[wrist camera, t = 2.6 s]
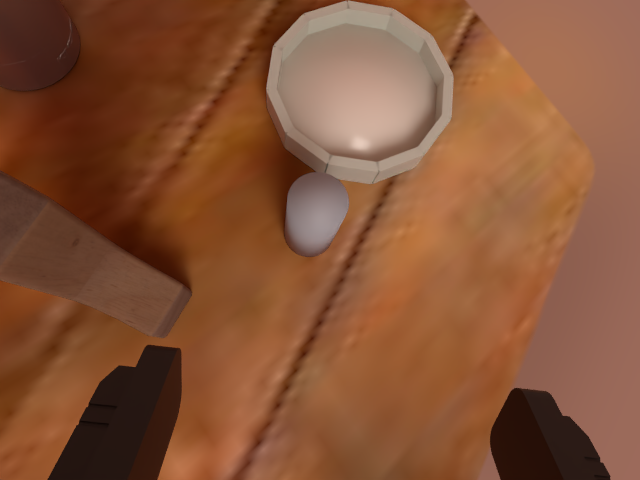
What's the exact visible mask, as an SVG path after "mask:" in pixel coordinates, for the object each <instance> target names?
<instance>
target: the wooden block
mask: <svg viewBox="0 0 640 480" xmlns="http://www.w3.org/2000/svg"><path fill="white" fill-rule="evenodd" d="M0 280H1V281H5V282H8V283H12V284H16V285H19V286H23V287H27V288H30V289H34V290H38V291H41V292H45V293H48V294H52V295H56V296H59V297H63V298H67V299H70V300H74V301H77V302H79V303H82V304H85V305H87V306H90V307H92V308H95V309H97V310H99V311H101V312H103V313H105V314H107V315H110V316H112V317H114V318H116V319H118V320H120V321H122V322H124V323H125V324H127V325H129V326H131V327H133V328H135V329H137V330H138V331H140V332H142V333H144V334H146V335H148V336H153V337H160V338H164V337H166V336H167V335H168V333H169V331H170V330H171V328H172V327H173V325H174V323H175V322H176V320H177V318H178V317H179V315H180V314H181V312H182V310H183V309H184V307H185V305H186V304H187V302H188V301H189V299H190V297H191V295H192V292H191V290H190V289H189V288H187V287H186V286H185V285H184V284H182V283H181V282H179V281H177V280H176V279H174V278H172V277H170V276H168V275H167V274H165V273H163V272H161V271H159V270H158V269H156V268H154V267H152V266H151V265H149V264H147V263H146V262H144V261H142V260H140V259H139V258H137V257H135V256H134V255H132V254H130V253H129V252H127V251H126V250H124V249H122V248H121V247H119V246H118V245H116V244H115V243H113V242H112V241H110V240H109V239H107V238H106V237H105V236H103V235H102V234H100V233H99V232H98V231H96V230H95V229H93V228H92V227H90V226H89V225H88V224H86V223H85V222H83V221H82V220H81V219H79V218H78V217H76V216H75V215H73V214H72V213H71V212H69V211H68V210H66V209H65V208H63V207H62V206H61V205H59V204H58V203H56V202H55V201H54V200H52V199H51V198H49V197H48V196H46V195H44V194H42V193H40V192H39V191H37V190H35V189H33V188H31V187H29V186H28V185H26V184H24V183H22V182H20V181H19V180H17V179H15V178H13V177H11V176H9V175H8V174H6V173H4V172H2V171H0Z"/></svg>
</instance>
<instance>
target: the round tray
mask: <svg viewBox="0 0 640 480" xmlns="http://www.w3.org/2000/svg"><path fill="white" fill-rule="evenodd" d="M452 96H453V73H452V71H451V70H450V68H449V66H448V64H447V62H446V60H445V58H444V56H443V55H442V53H441V51H440V49H439V47H438V45H437V43H436V41H435V40H434V38H433V36H431V34H430V33H428V32H427V31H425V30H424V29H422V28H421V27H420V26H418V25H417V24H415V23H414V22H412V21H411V20H410V19H408V18H407V17H405V16H404V15H402V14H401V13H400V12H398V11H397V10H395V9H394V10H393V8H388V7H383V6H377V5H371V4H365V3H359V2H354V1H348V2H347V1H343V2H340V3H337V4H333V5H330V6H327V7H323V8H320V9H317V10H313V11H310V12H307V13H304V15H303V14H302V15H301V16H300V17H299V19H298V20H297V21H296V22H295V23H294V24H293V25H292V26H291V27H290V28H289V29H288V30H287V31H286V32H285V34H284V35H283V36H282V37H281V38H280V39H279V40H278V41H277V42H276V43H275V44H274V46H273V50H272V56H271V62H270V68H269V74H268V81H267V87H266V103H267V109H268V112H269V114H270V116H271V118H272V121H273V123H274V125H275V127H276V130H277V132H278V134H279V136H280V139H281V141H282V143H283V146H284V148H285V149H286V150H288V151H289V152H290V153H292V154H293V155H294V156H296V157H297V158H298V159H300V160H301V161H303V162H304V163H305V164H307V165H308V166H309V167H311V168H312V169H313V170H315V171H316V172H322V173H327V174H330V175H332V176H333V177H335V178H337V179H340V180H347V181H354V182H361V183H368V184H371V183H372V184H374V183H376V182H379V181H381V180H384V179H387V178H389V177H392V176H394V175H397V174H400V173H402V172H405V171H407V170H410V169H413V168H414V167H416V165H417V164H418V163H419V161H420V160H421V159H422V157H423V156H424V155H425V153H426V152H427V151H428V149H429V148H430V147H431V145H432V144H433V143H434V141H435V140H436V139H437V137H438V136H439V135H440V133H441V132H442V131H443V129H444V128H445V127H446V125H447V124H448V123H449V121H450V120H451V116H452Z"/></svg>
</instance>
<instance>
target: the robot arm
mask: <svg viewBox="0 0 640 480" xmlns="http://www.w3.org/2000/svg"><path fill="white" fill-rule="evenodd" d="M79 51H80V37H79V34H78V31H77V29H76V27H75V25H74V23H73V22H72V20H71V19H70V17H69V15H68V14H67V12H66V10H65V9H64V7H63V5H62V4H61V2H60V0H0V86H2V87H4V88H7V89H12V90H18V91H31V90H36V89H41V88H44V87H47V86H49V85H52V84H54V83H55V82H57V81H58V80H60V79H62V78H63V77H64V76H65V75H66V74H67V73H68V72H69V71H70V70H71V69H72V67H73V66H74V64H75V63H76V60H77V58H78V55H79ZM181 393H182V382H181V349H180V348H172V347H163V346H155V345H147V346H146V347H145V349H144V351H143V353H142V355H141V357H140V359H139V361H138V363H137V365H136V367H128V366H118V367H117V368H116V369H114V370H113V371H112V372H111V373H110V374H109V375H108V376H106V377H105V378H104V379H103V380H102V381H101V382H100V383H99V385H98V387H97V389H96V391H95V392H94V394H93V396H92V398H91V400H90V402H89V405H88V407H86V409H85V411H84V413H83V415H82V417H81V418H80V420H79V424H78V425H77V426H76V428H75V430H74V431H73V433H72V435H71V437H70V439H69V441H68V443H67V445H66V446H65V448H64V450H63V452H62V454H61V456H60V458H59V459H58V461H57V463H56V465H55V467H54V469H53V471H52V472H51V474H50V476H49V478H48V480H157V479H158V476H159V473H160V469H161V466H162V463H163V460H164V457H165V454H166V451H167V448H168V445H169V442H170V439H171V436H172V433H173V429H174V426H175V423H176V420H177V417H178V413H179V408H180V402H181ZM490 446H491V452H492V455H493V458H494V461H495V464H496V467H497V470H498V473H499V476H500V479H501V480H610V475H609V473H608V471H607V469H606V468H605V466H604V464H603V463H601V462H600V457H599V455H598V453H597V452H596V450H595V448H594V446H593V444H592V442H591V441H590V439H589V437H588V436H587V435H586V434H585V433H584V432H583V431H582V430H581V428H580V427H579V426H578V425H577V424H576V423H575V422H574V421H573V420H572V419H571V418H570V417H568V416H562V414H561V412H560V410H559V408H558V406H557V404H556V403H555V400H554V399H553V397H552V396H551V394H550V393H548V392H546V391H538V390H529V389H521V388H514V389H513V390H512V391H511V392H510V394H509V396H508V398H507V400H506V402H505V403H504V405H503V407H502V409H501V411H500V413H499V415H498V417H497V419H496V421H495V423H494V425H493V427H492V430H491V435H490Z"/></svg>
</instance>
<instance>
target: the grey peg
mask: <svg viewBox="0 0 640 480" xmlns="http://www.w3.org/2000/svg"><path fill="white" fill-rule="evenodd" d="M348 207H349V198H348V194H347V191H346V189H345V187H344V186H343V184H342V183H341V182H340V181H339V180H338V179H337V178H335V177H333V176H332V175H330V174H327V173H322V172H312V173H308V174H305V175H303V176H301V177H299V178H298V179H297V180H296V181H295V182H294V183H293V184H292V186H291V188H290V190H289V192H288V197H287V207H286V218H285V229H284V236H285V240H286V243H287V245H288V246H289V248H290V249H291V250H292V251H294V252H295V253H296V254H298V255H301V256H305V257H314V256H317V255H320V254H322V253H323V252H325V251H326V250H327V249H328V247H329V246H330V244H331V242H332V240H333V239H334V237H335V235H336V233H337V231H338V229H339V227H340V225H341V223H342V221H343V219H344V218H345V216H346V214H347V211H348Z"/></svg>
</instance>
